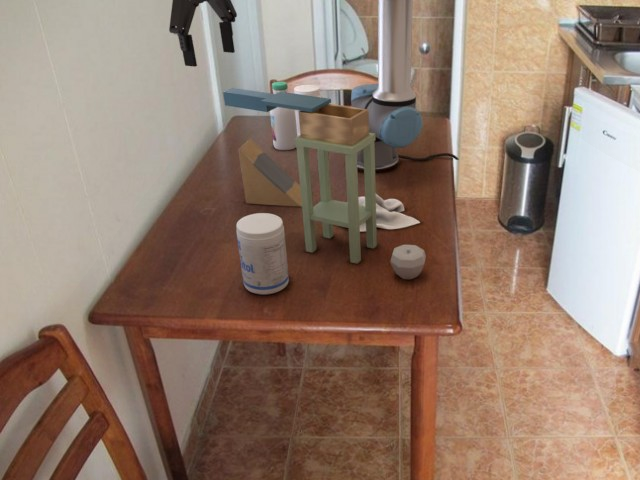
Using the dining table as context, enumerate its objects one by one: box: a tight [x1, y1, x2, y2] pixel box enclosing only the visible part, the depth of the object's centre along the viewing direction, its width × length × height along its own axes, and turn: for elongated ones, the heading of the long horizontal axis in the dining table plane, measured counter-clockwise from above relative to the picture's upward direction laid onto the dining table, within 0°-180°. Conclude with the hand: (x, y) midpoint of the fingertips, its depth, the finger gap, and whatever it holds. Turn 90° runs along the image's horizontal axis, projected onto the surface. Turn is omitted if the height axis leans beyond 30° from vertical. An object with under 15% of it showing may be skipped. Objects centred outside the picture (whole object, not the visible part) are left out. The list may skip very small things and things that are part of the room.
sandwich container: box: [237, 138, 302, 208], centre depth 174 cm, size 9×15×15 cm, turn 81°
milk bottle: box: [269, 81, 297, 151], centre depth 206 cm, size 8×8×20 cm
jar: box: [293, 84, 323, 137], centre depth 218 cm, size 12×10×15 cm
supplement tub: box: [235, 212, 290, 295], centre depth 137 cm, size 10×10×15 cm
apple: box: [389, 244, 427, 280], centre depth 143 cm, size 8×8×7 cm
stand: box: [294, 133, 378, 265], centre depth 147 cm, size 14×10×27 cm
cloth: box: [358, 193, 421, 233], centre depth 167 cm, size 22×19×6 cm
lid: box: [222, 87, 332, 113], centre depth 143 cm, size 24×8×3 cm, turn 64°
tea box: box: [299, 103, 369, 146], centre depth 139 cm, size 12×8×5 cm, turn 64°
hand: (210, 58), depth 151 cm, fingers open, 13 cm apart
